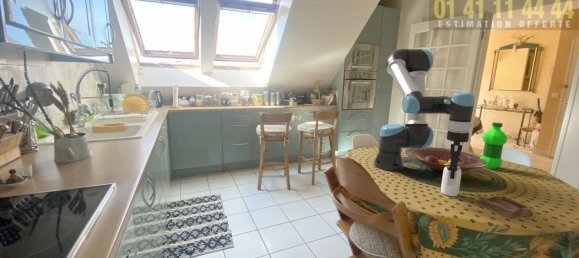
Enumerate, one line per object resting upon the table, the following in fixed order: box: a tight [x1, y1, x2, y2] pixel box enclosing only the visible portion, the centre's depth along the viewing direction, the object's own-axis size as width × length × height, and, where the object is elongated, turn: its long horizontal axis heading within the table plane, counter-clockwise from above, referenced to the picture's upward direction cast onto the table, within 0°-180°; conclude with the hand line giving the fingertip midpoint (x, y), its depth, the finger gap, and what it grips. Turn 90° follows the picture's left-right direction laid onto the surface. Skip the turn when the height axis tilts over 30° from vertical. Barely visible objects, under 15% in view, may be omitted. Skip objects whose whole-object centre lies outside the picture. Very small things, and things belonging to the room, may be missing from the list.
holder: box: [477, 195, 534, 219], centre depth 97 cm, size 12×12×2 cm
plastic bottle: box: [479, 121, 508, 170], centre depth 139 cm, size 10×10×25 cm
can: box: [440, 164, 462, 198], centre depth 109 cm, size 6×6×12 cm
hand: (451, 180), depth 108 cm, fingers open, 13 cm apart
